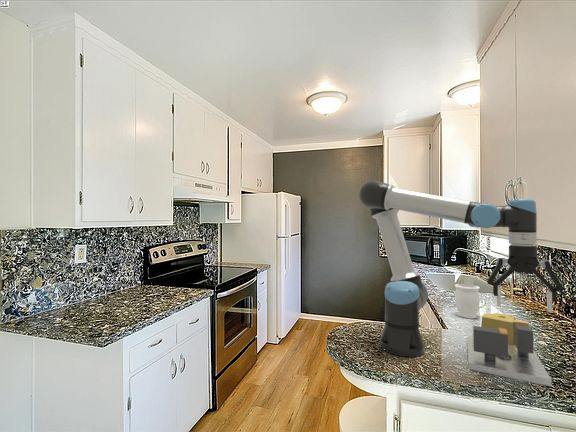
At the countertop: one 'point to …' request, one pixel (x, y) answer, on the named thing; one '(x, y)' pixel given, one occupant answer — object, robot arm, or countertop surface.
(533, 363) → the level plate
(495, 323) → the cheese
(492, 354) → the knob
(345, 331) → the countertop surface
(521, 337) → the orange-capped gray block
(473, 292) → the jar
